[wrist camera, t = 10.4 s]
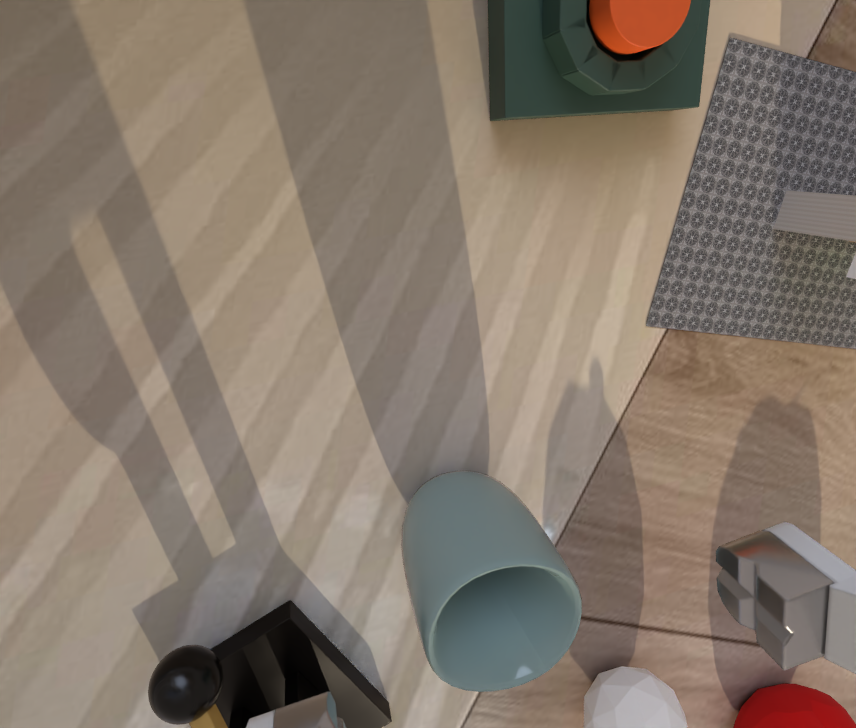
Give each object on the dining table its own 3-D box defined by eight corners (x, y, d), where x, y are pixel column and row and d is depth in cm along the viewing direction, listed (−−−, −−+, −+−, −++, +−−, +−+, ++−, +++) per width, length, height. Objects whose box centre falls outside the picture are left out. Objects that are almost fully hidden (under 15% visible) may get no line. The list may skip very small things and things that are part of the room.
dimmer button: (586, 56, 24) (607, 49, 22) (590, -44, 23) (612, -60, 21) (661, 53, 25) (687, 46, 23) (670, -45, 23) (697, -59, 22)
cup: (520, 451, 35) (601, 557, 25) (498, 555, 37) (565, 686, 28) (397, 450, 33) (437, 564, 24) (383, 559, 35) (414, 701, 26)
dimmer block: (489, 120, 27) (519, 115, 24) (486, -77, 25) (519, -117, 21) (671, 110, 29) (725, 104, 26) (688, -75, 26) (751, -112, 23)
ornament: (547, 694, 43) (617, 724, 36) (611, 639, 46) (688, 656, 39) (589, 783, 42) (670, 832, 35) (651, 720, 45) (737, 754, 38)
